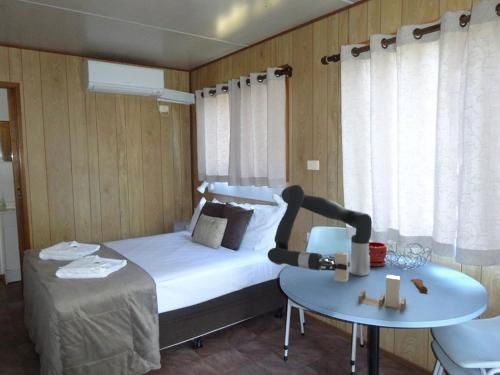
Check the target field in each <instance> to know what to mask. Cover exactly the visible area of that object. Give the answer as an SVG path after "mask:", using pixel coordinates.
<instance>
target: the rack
mask: <svg viewBox="0 0 500 375" xmlns="http://www.w3.org/2000/svg"><path fill="white" fill-rule="evenodd" d="M366 294H367V291H366V290H365V289H362V290H361V292H360V294H359V295H358V303H359V304H362V305H363V304H364V305H369V306H372V307H374V306H375V307H378V308H379V307H380V308H384V309H390V310H395V311H401V312H404V311H405V308H406V305H407V304H406V303H407V297H406V296H402V298H401V300H400V304H399V307H398V308H395V307H389V306H385V299H386V292H385V293H384V292H383V293H381V294H380V297H379V298H374V297H369V296H366Z"/></svg>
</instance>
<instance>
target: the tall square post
mask: <svg viewBox="0 0 500 375" xmlns="http://www.w3.org/2000/svg"><path fill="white" fill-rule="evenodd" d="M400 291H401V276H399V275H391V274H387V275H386V278H385V306H389V307H395V308H398V307H399V304H400V303H401V300H400V297H401V292H400Z"/></svg>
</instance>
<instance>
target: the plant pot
mask: <svg viewBox="0 0 500 375" xmlns="http://www.w3.org/2000/svg"><path fill="white" fill-rule="evenodd" d="M387 246H388V245H387V244H386V243H383V242H378V241H369V256H370V267H371V266H372V267H380V266H381V267H382V266H384V265H385V264H386V256H387Z"/></svg>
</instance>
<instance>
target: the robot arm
mask: <svg viewBox="0 0 500 375" xmlns="http://www.w3.org/2000/svg"><path fill="white" fill-rule="evenodd" d="M280 194H281V199H282V201H283V202H284V203H286V204H287V206H286V209H285V212H284V214H283V216H282V217H281V219H280V221H279V223H278V224H277V228H276V232H275V235H274V242H275V247H272V248H270V249H269V250H268V252H267V258H268V260H269V261H270V262H271V263H274V264H275V265H278V266H281V265H283V264H285V265H288V266H292V267H298V268H301V269H307V270H311V271H312V270H313V271H320V270H321V271H332V272H335V269H336V270H337V269H341V270H347V265H345V264H337V263H335V256H329V257H323V256H322V253H318V252H310V251H297V250H289V241H290V239H291V235H292V230H293V228H294V224H295V221H296V220H297V215H298V213H299V211H300V208H302V209H304V210H306V211H307V210H308V211H309V212H311V213H314V214H316V215H319V216H321V217H323V218H327V219H330V220H334V221H335V220H336V221H340V222H343V223H344V224H346V225H348V226H350V227H351V228H354V229H355V233H354V234H353V235H351V237H350V238H351V239H350V244H351V245H350V261H349V267H350V273H351V274H352V275H355V276H359V277H360V276H362V277H363V276H368V275H369V274H370V273H371V272H370V270H371V265H370V256H369V242H370V239H371V238H372V236H371V235H372V226H373V224H372V223H373V222H372V220H373V219H372V217H371V215H369V214H368V213H366V212H361V211H357V210H352V209H348V208H346V207H344V206H343V205H341V204H340V203H338V202H336V201H334V200H331V199H329V198H326V197H321V196H315V195H309V194H306V193H305V189H304V188H303V187H302V186H301V185H299V184H294V185H289V186H287V187H285V188H283V190H282V191H281V193H280Z"/></svg>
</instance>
